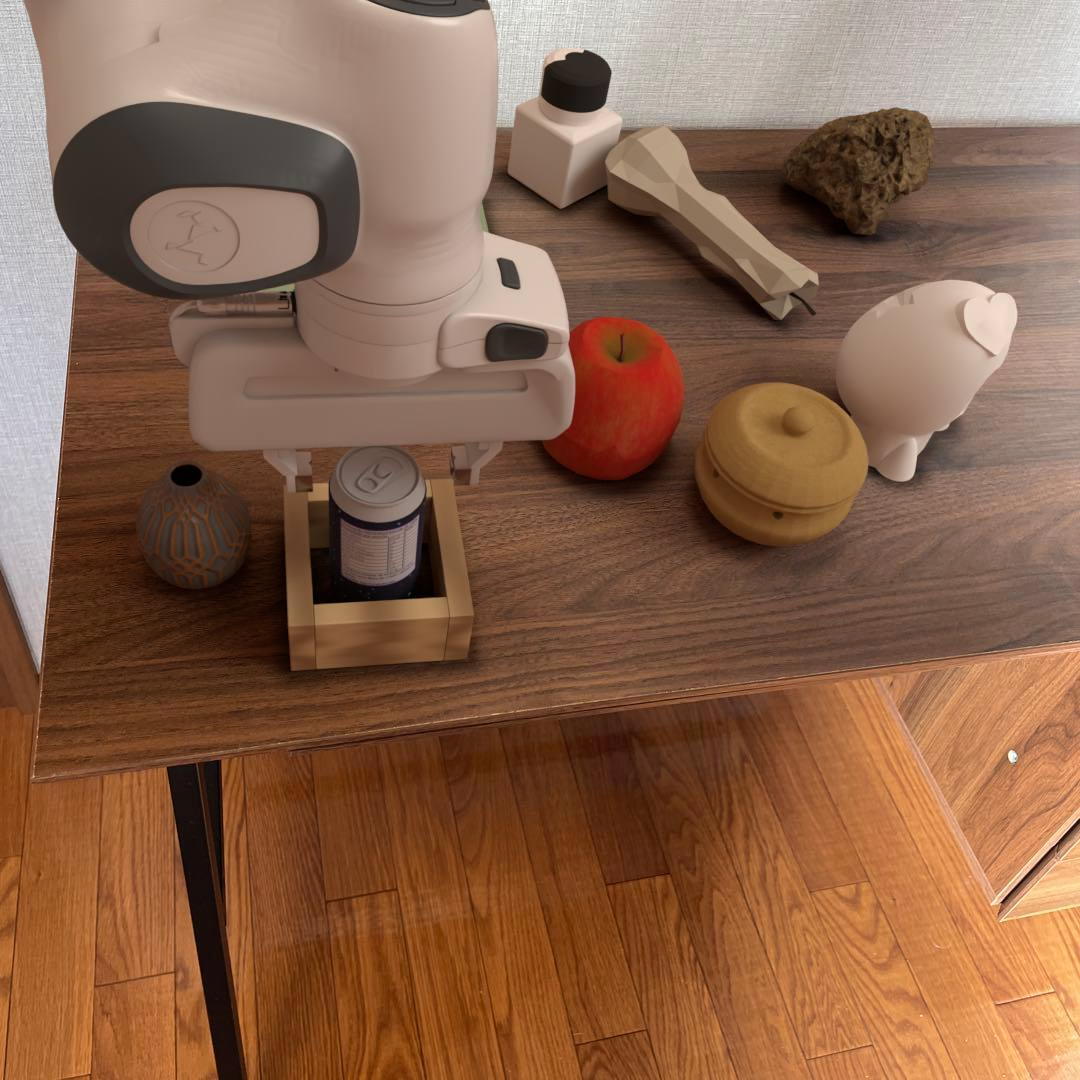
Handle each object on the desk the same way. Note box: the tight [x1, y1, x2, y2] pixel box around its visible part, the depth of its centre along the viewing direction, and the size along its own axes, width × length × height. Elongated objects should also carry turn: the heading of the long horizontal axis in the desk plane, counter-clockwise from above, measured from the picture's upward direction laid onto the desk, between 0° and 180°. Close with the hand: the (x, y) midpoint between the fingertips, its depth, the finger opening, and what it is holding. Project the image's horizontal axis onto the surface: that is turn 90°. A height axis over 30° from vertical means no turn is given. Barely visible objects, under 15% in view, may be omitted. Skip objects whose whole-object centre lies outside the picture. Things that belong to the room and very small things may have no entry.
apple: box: [540, 316, 686, 481], centre depth 80 cm, size 11×11×11 cm
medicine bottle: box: [507, 47, 623, 210], centre depth 101 cm, size 7×7×12 cm
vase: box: [135, 459, 253, 590], centre depth 69 cm, size 7×7×9 cm
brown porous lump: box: [781, 107, 935, 236], centre depth 104 cm, size 11×13×15 cm
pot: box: [693, 381, 869, 547], centre depth 79 cm, size 12×12×10 cm
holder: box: [282, 478, 475, 672], centre depth 71 cm, size 11×11×5 cm
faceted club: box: [605, 124, 820, 321], centre depth 98 cm, size 9×8×25 cm
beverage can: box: [328, 445, 427, 603], centre depth 68 cm, size 6×6×12 cm
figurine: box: [835, 279, 1018, 483], centre depth 84 cm, size 11×11×15 cm
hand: (382, 480), depth 64 cm, fingers open, 8 cm apart
